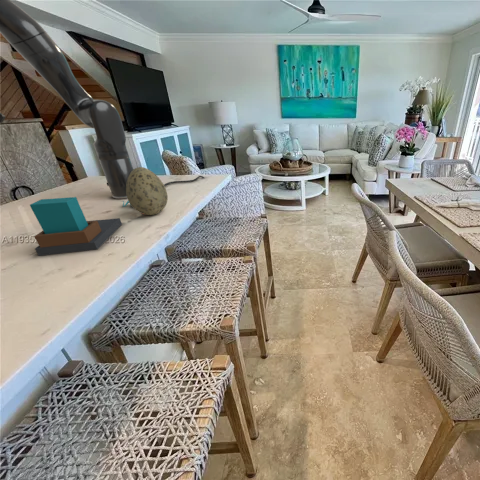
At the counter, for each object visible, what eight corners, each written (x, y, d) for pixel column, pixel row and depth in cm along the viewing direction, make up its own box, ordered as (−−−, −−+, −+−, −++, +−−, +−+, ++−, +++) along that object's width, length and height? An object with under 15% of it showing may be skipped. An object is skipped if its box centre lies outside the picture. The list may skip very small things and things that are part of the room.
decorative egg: (162, 219, 82) (148, 170, 75) (126, 220, 81) (108, 171, 74) (177, 207, 91) (165, 163, 84) (145, 208, 91) (130, 163, 84)
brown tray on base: (74, 228, 76) (67, 212, 74) (122, 224, 79) (116, 208, 76) (38, 256, 62) (27, 237, 60) (97, 249, 65) (89, 231, 63)
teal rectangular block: (60, 237, 66) (40, 199, 62) (92, 234, 68) (76, 196, 63) (50, 244, 63) (29, 204, 58) (84, 241, 65) (66, 202, 60)
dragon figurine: (113, 208, 87) (135, 197, 88) (113, 195, 91) (134, 184, 92) (129, 220, 93) (150, 209, 93) (129, 207, 97) (149, 196, 97)
